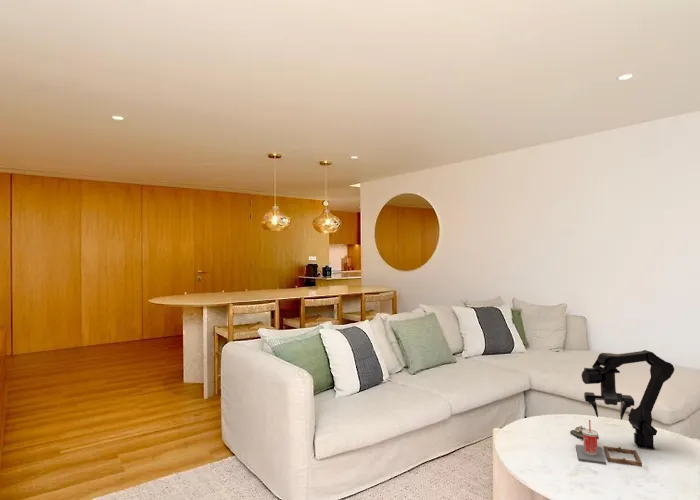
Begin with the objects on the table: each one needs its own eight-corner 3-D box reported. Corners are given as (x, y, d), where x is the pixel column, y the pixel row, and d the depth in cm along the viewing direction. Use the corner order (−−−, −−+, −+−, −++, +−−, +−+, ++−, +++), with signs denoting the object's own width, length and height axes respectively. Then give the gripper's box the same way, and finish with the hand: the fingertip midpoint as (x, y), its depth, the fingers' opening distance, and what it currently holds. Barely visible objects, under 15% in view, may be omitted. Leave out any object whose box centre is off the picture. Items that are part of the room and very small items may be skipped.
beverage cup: (580, 449, 193) (579, 417, 193) (595, 450, 192) (594, 417, 192) (585, 455, 187) (584, 422, 187) (601, 456, 186) (600, 423, 186)
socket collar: (635, 453, 190) (635, 448, 190) (642, 466, 179) (641, 461, 179) (603, 449, 194) (603, 444, 194) (607, 461, 183) (607, 456, 183)
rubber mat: (601, 450, 194) (601, 447, 194) (606, 464, 181) (606, 462, 181) (575, 446, 198) (575, 444, 198) (578, 460, 185) (578, 458, 185)
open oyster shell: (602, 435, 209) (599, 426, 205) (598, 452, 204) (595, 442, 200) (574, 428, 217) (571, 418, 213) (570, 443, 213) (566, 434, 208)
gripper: (586, 386, 193) (587, 422, 193) (636, 390, 186) (638, 427, 186) (583, 379, 203) (584, 413, 203) (631, 382, 196) (632, 417, 196)
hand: (609, 418), depth 196 cm, fingers open, 9 cm apart
